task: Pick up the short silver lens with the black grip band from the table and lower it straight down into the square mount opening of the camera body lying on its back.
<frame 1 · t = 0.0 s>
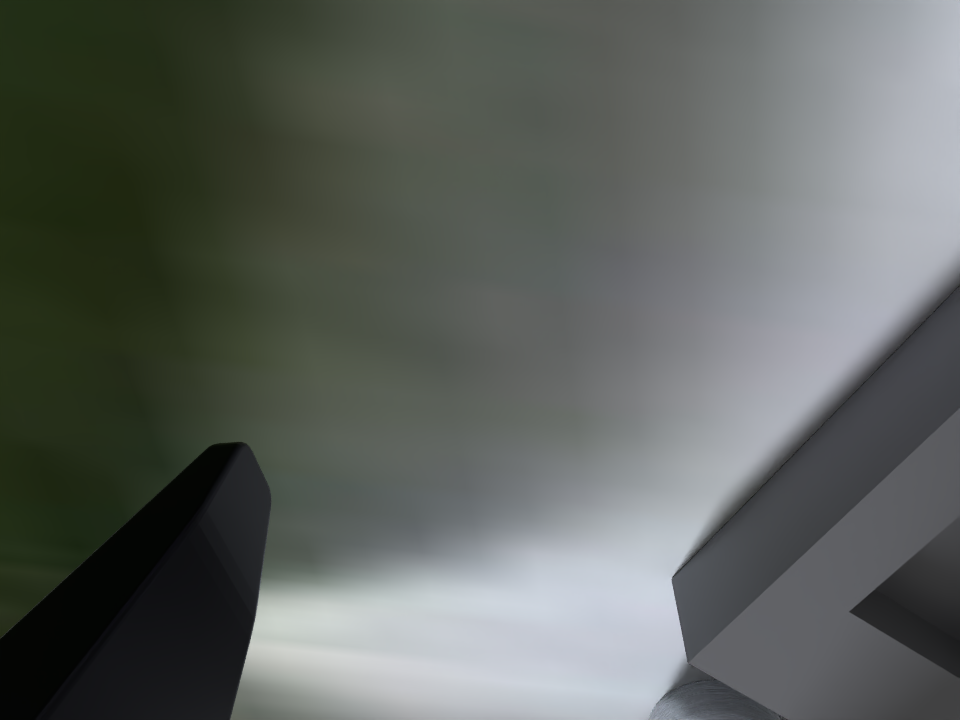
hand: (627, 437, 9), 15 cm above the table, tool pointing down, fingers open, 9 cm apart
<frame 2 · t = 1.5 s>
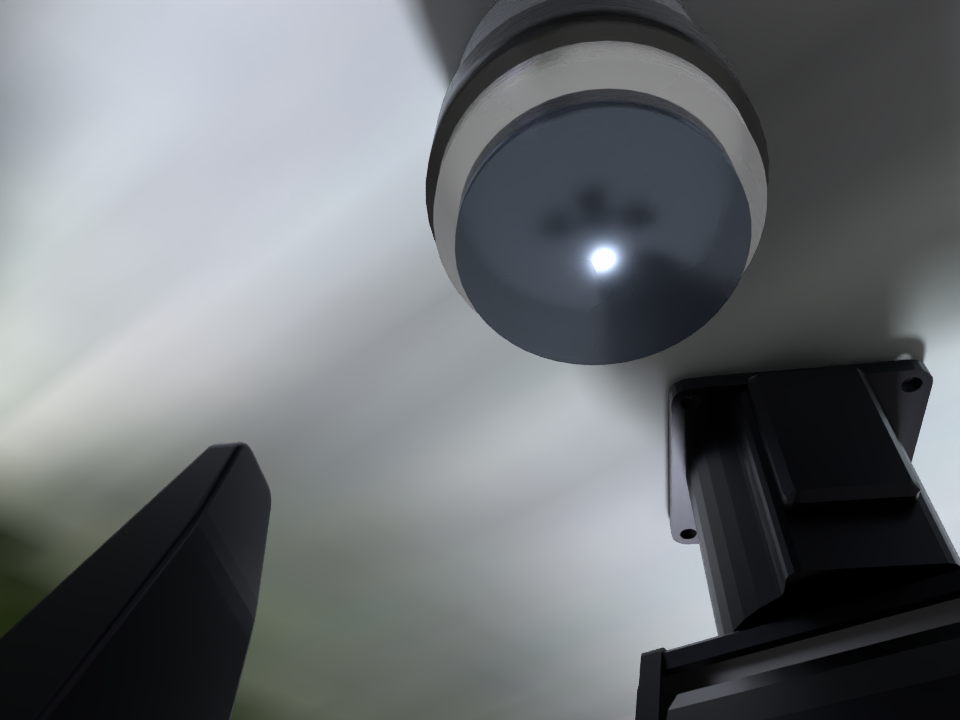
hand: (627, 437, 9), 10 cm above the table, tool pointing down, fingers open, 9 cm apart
lens: (580, 100, 17), on the table
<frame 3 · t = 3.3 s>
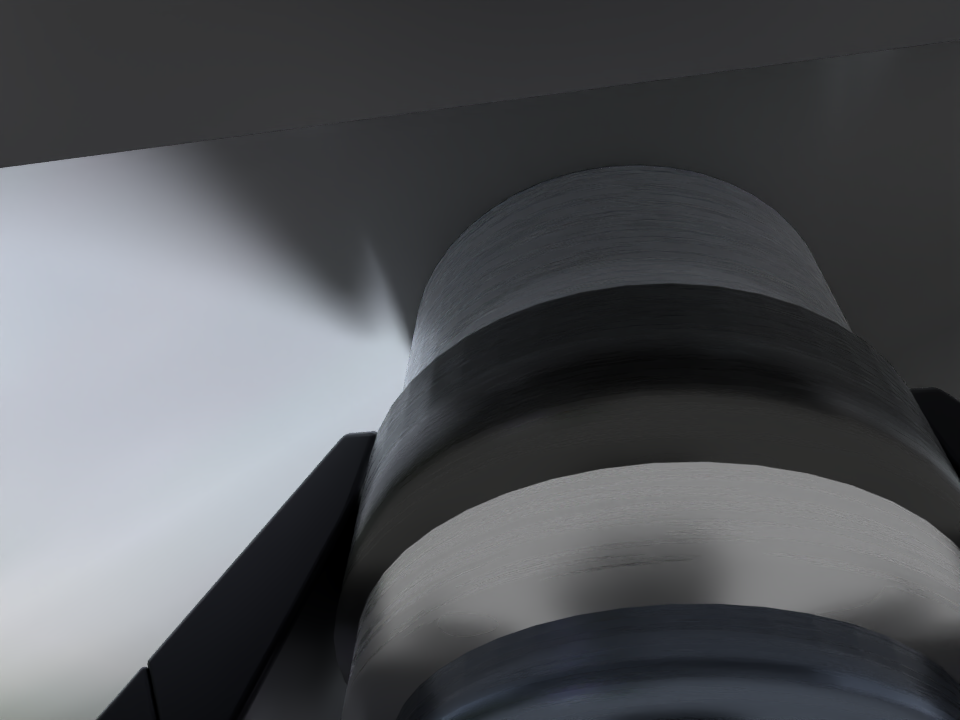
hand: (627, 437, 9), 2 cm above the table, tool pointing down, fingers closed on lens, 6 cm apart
lens: (616, 352, 10), on the table, touching gripper
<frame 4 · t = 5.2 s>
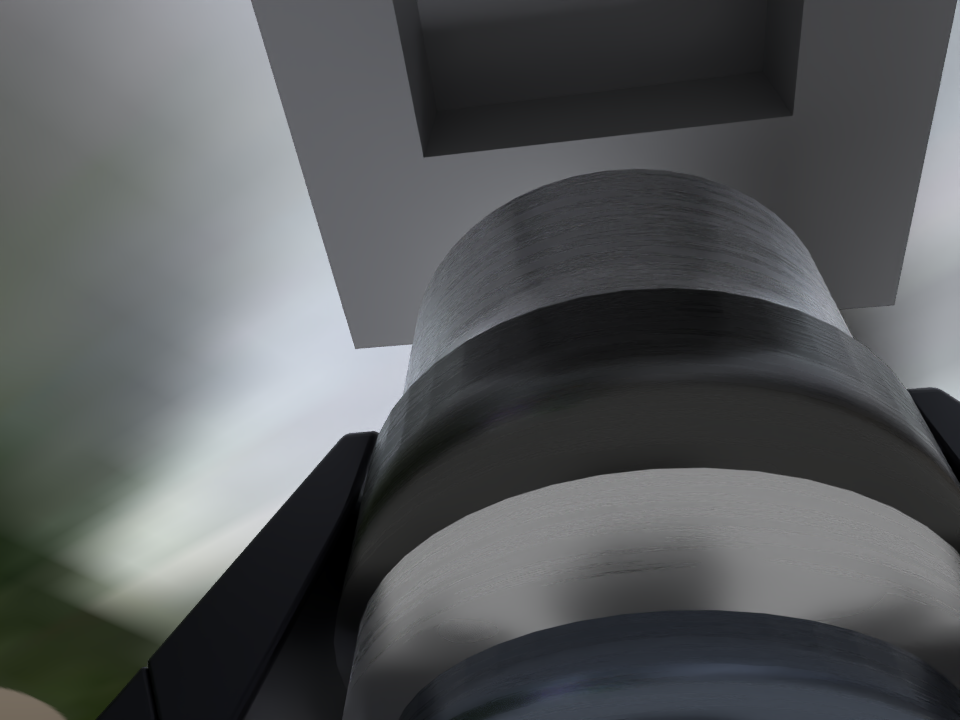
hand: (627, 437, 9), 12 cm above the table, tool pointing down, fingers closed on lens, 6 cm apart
lens: (616, 355, 10), point 11 cm above the table, touching gripper
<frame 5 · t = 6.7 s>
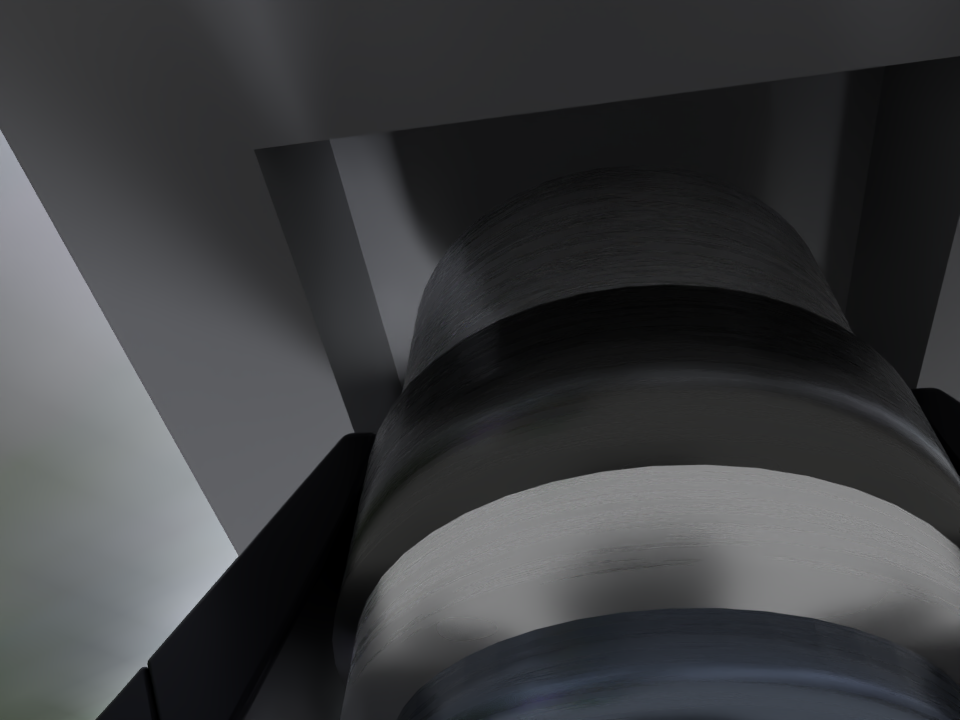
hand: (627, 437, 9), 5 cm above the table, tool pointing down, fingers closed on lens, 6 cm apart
lens: (616, 353, 10), point 3 cm above the table, touching gripper
camera body: (598, 218, 13), on the table
when the fingers open (4 cm above the table, at t = 7.6 s): lens drops 1 cm, resting on camera body.
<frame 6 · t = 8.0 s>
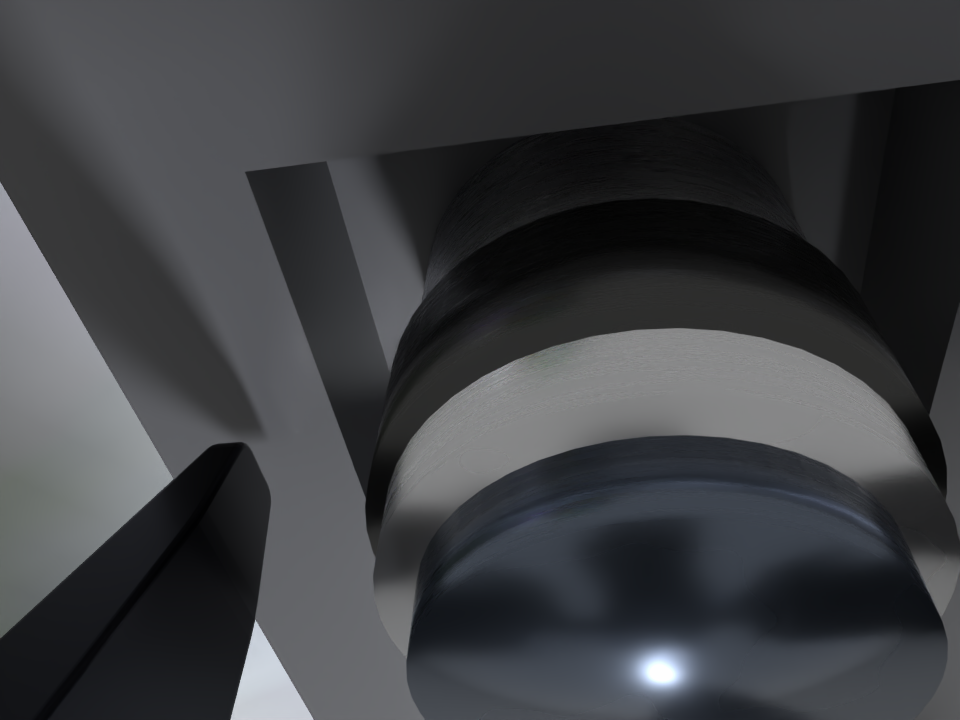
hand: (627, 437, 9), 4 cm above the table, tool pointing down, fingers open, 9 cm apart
lens: (608, 289, 11), point 2 cm above the table, touching camera body
camera body: (601, 234, 13), on the table
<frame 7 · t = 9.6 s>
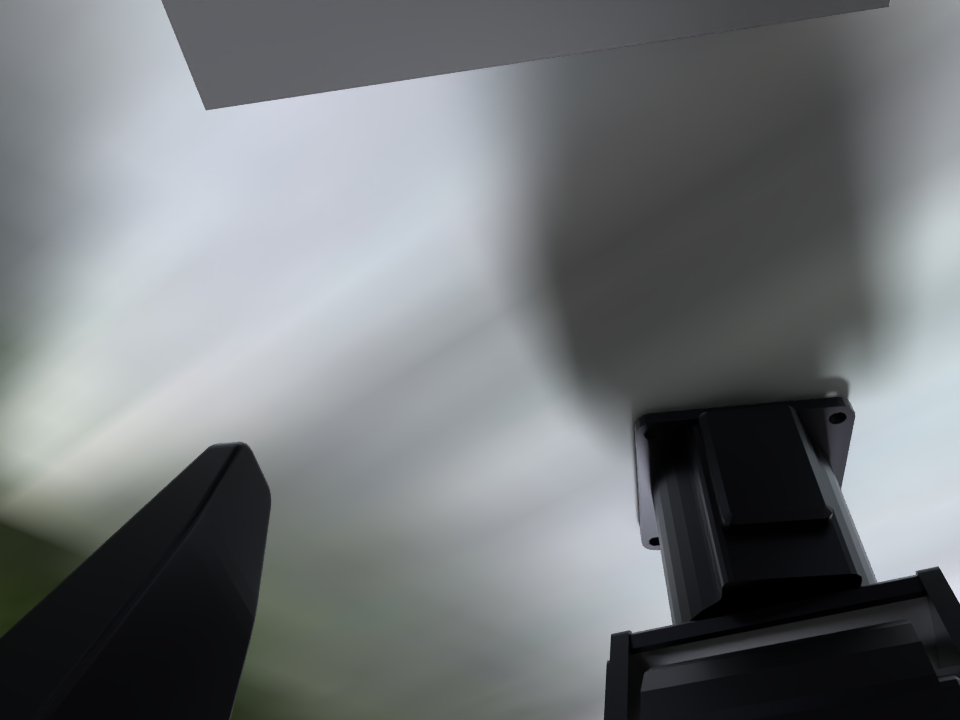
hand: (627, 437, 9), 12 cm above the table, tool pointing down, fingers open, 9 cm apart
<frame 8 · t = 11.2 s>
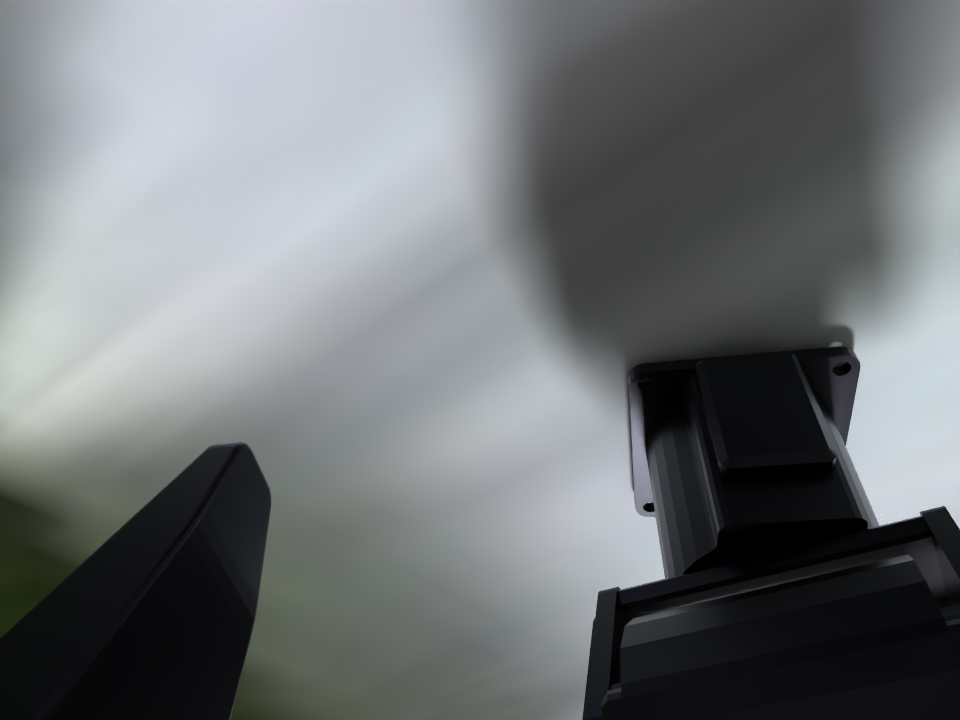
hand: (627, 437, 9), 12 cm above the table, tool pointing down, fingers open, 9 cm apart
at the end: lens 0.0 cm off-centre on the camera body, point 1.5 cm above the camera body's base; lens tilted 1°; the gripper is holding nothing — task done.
